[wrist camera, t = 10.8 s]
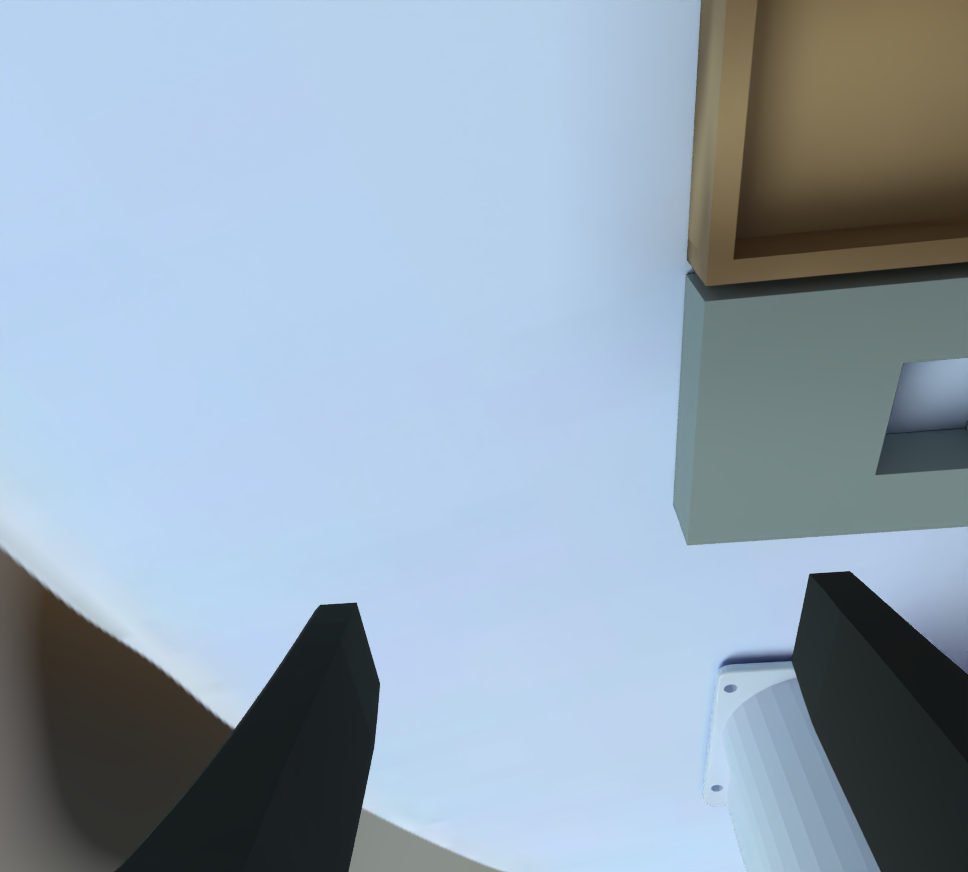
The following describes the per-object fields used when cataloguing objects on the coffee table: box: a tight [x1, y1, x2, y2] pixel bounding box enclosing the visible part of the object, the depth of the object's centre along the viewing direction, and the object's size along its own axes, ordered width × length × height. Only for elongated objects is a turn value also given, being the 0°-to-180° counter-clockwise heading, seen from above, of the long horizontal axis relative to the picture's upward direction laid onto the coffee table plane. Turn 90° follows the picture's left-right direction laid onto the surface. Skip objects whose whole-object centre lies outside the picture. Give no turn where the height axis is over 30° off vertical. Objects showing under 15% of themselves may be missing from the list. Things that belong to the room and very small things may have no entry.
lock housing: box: [673, 262, 968, 545], centre depth 19 cm, size 8×14×2 cm, turn 96°
